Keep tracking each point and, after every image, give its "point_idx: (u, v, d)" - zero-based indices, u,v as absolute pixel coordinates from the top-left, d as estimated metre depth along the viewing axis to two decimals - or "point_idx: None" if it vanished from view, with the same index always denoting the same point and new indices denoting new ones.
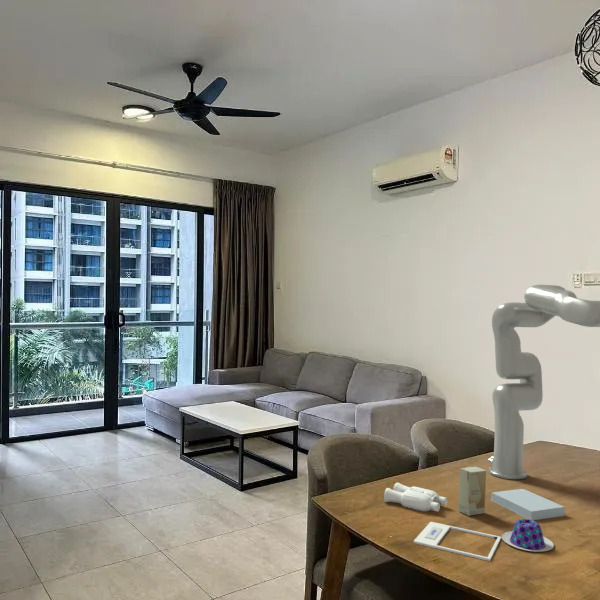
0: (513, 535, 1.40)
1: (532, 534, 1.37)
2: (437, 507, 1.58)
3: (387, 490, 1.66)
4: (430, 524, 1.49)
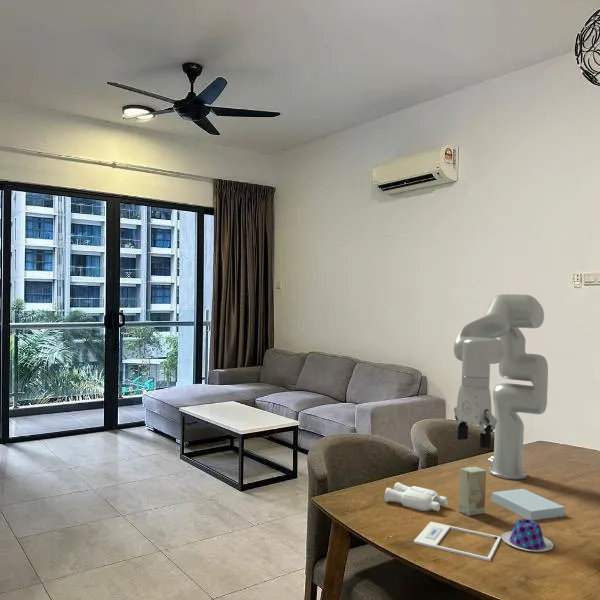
0: (513, 535, 1.40)
1: (532, 534, 1.38)
2: (437, 507, 1.58)
3: (387, 489, 1.66)
4: (430, 524, 1.49)
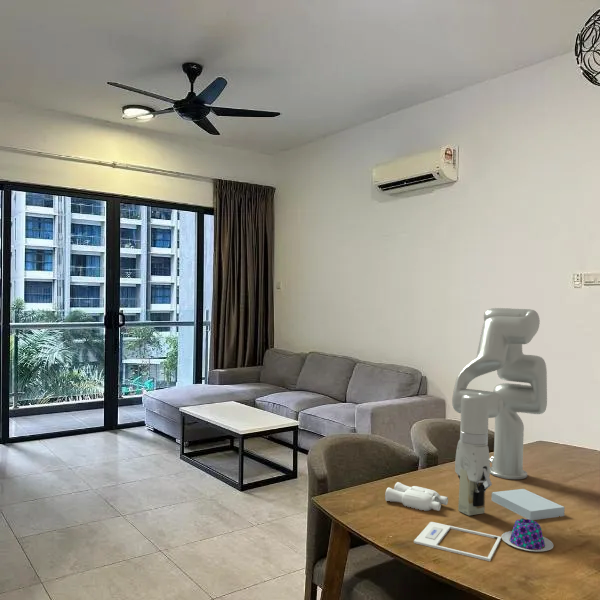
0: (513, 535, 1.40)
1: (533, 534, 1.38)
2: (438, 506, 1.59)
3: (388, 489, 1.66)
4: (430, 524, 1.49)
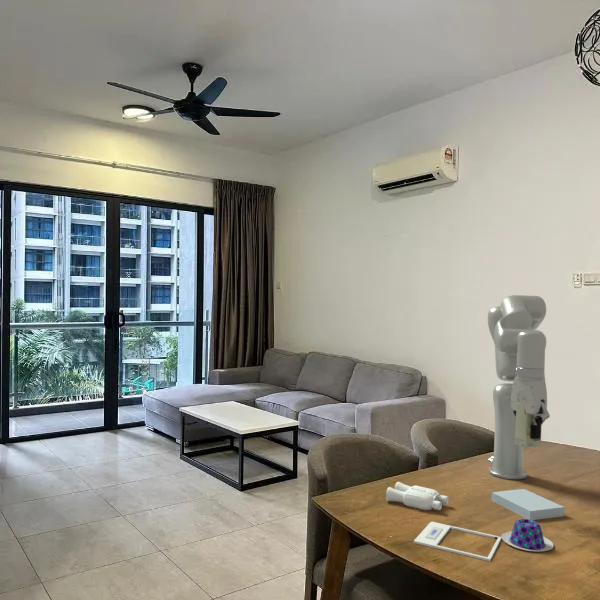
0: (514, 536, 1.40)
1: (534, 534, 1.38)
2: (439, 506, 1.59)
3: (389, 489, 1.66)
4: (431, 524, 1.49)
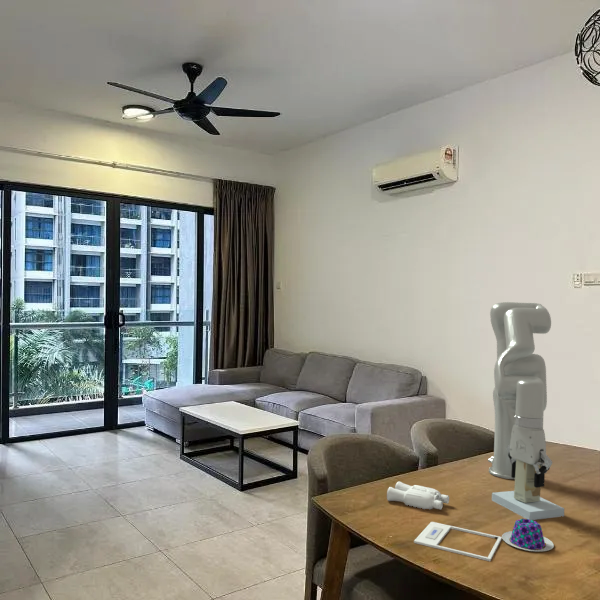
0: (514, 536, 1.40)
1: (534, 534, 1.38)
2: (440, 505, 1.60)
3: (390, 489, 1.67)
4: (431, 524, 1.49)
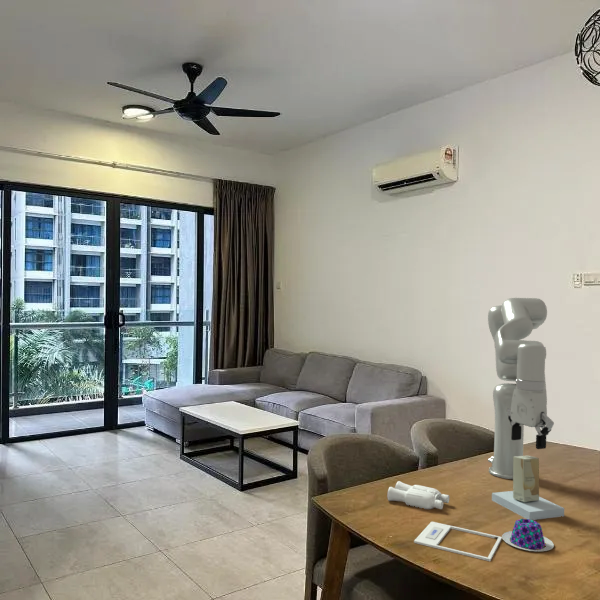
0: (514, 536, 1.40)
1: (534, 534, 1.38)
2: (441, 505, 1.60)
3: (390, 488, 1.67)
4: (431, 524, 1.49)
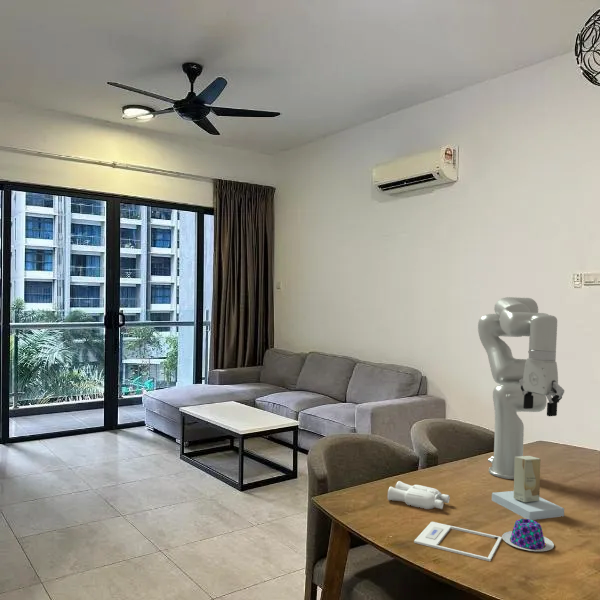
0: (515, 536, 1.40)
1: (535, 534, 1.38)
2: (441, 505, 1.60)
3: (390, 488, 1.67)
4: (431, 524, 1.49)
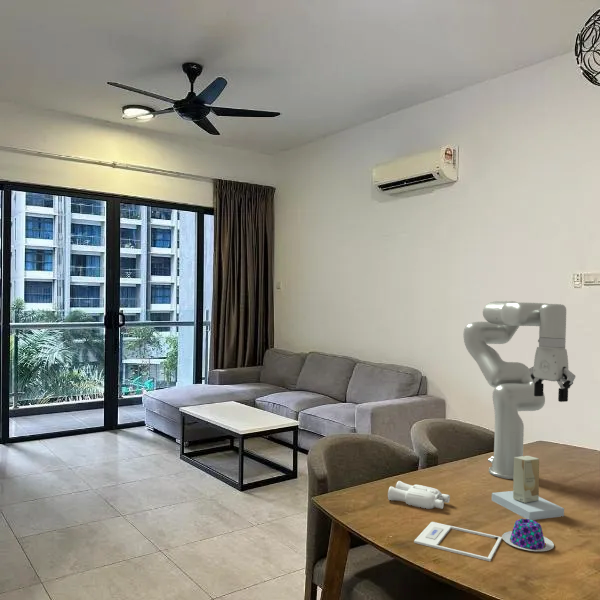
0: (515, 536, 1.40)
1: (535, 534, 1.38)
2: (441, 504, 1.60)
3: (390, 488, 1.67)
4: (431, 524, 1.49)
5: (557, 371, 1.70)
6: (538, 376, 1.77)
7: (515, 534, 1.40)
